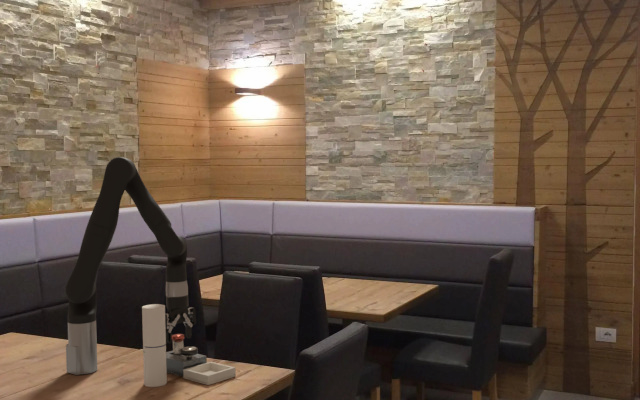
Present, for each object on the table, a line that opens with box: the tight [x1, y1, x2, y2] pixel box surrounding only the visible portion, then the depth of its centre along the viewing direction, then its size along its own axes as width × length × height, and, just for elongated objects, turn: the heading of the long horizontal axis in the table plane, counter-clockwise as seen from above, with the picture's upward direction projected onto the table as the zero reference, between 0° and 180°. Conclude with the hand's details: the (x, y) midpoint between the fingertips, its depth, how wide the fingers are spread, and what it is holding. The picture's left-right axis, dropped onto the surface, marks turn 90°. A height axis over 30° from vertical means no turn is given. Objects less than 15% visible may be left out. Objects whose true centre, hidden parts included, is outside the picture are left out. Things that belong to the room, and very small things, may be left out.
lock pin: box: [172, 333, 186, 356], centre depth 254 cm, size 4×4×11 cm
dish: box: [183, 361, 237, 386], centre depth 242 cm, size 12×12×3 cm
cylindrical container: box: [141, 303, 168, 388], centre depth 235 cm, size 7×7×25 cm
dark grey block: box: [166, 346, 208, 378], centre depth 251 cm, size 10×15×8 cm, turn 50°
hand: (178, 340), depth 254 cm, fingers open, 8 cm apart
